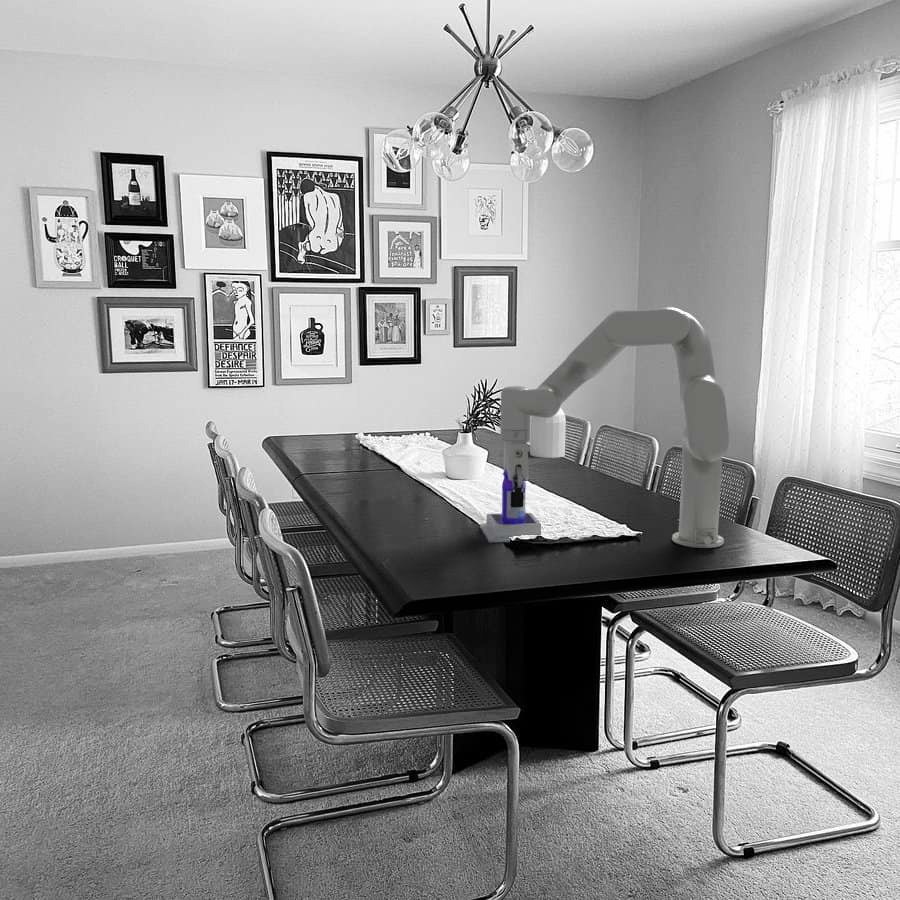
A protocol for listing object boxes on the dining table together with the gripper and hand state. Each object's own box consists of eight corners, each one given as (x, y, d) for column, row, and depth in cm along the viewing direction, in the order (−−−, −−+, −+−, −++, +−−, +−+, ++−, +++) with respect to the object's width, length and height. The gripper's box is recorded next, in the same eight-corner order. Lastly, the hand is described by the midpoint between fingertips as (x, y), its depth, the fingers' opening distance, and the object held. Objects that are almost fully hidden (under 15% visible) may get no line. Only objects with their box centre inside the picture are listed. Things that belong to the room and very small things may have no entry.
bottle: (519, 527, 234) (520, 459, 232) (498, 525, 236) (499, 458, 234) (528, 521, 241) (529, 455, 238) (507, 519, 243) (508, 453, 240)
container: (525, 451, 359) (526, 400, 356) (558, 451, 362) (560, 400, 358) (535, 458, 346) (536, 405, 343) (569, 457, 349) (571, 404, 345)
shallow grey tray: (547, 540, 233) (548, 525, 232) (489, 542, 231) (489, 526, 230) (535, 525, 248) (535, 511, 247) (479, 527, 246) (480, 512, 245)
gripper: (537, 440, 227) (535, 511, 230) (522, 430, 244) (521, 495, 247) (506, 441, 226) (505, 511, 229) (494, 430, 243) (493, 496, 246)
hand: (513, 502), depth 238 cm, fingers closed on bottle, 7 cm apart
